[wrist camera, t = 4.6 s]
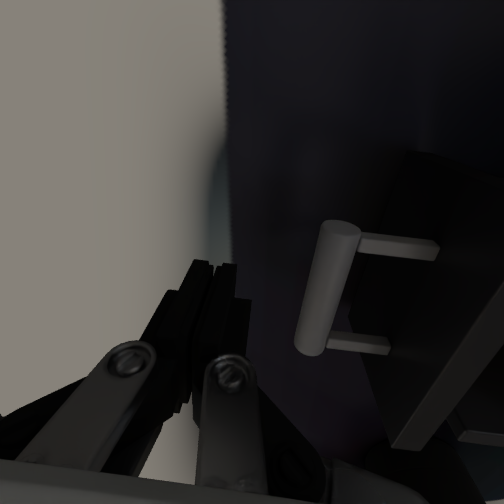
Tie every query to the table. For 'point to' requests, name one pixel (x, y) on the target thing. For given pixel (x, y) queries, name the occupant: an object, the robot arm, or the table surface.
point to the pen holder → (426, 472)
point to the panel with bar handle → (422, 302)
